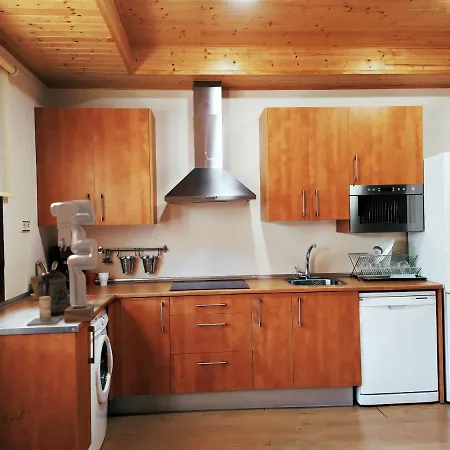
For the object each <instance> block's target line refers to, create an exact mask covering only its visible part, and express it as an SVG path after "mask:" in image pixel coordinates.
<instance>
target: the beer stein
mask: <svg viewBox="0 0 450 450" xmlns="http://www.w3.org/2000/svg"><path fill="white" fill-rule="evenodd" d="M66 281H67V276H66V275H65V274H63V273H62V272H61V271H60V270H59V269H49V270H48V272H47V273H45V274H43V276H42V280H40V281H39V282H38V285H37V293H38V295H39V297H44V296H50V303H51V317H62V316H64V310H66V309H67V308H68V307H69V306H72V305H71V303H70V296H69V293H68V290H67V285H66ZM44 284H45V286H44ZM43 286H44V292H43Z"/></svg>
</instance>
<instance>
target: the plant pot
mask: <svg viewBox="0 0 450 450" xmlns="http://www.w3.org/2000/svg"><path fill="white" fill-rule="evenodd" d="M43 275H44V274H43ZM43 275H42V274H41V275H35V276H34V275H33V276H30V283H31V286H32V287H31V288H32V290H33V293H34V295H35V298H36V299H37V301H39V295H38V293H37V285H38V282H39V281H40V280H42V276H43ZM44 286H45V284H44ZM44 286H43V292H44Z"/></svg>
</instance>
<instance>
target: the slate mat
mask: <svg viewBox="0 0 450 450" xmlns="http://www.w3.org/2000/svg"><path fill="white" fill-rule="evenodd" d="M62 319H63V317H62V316H56V317H51V320H49V321H40V317H35V318H33V319H32V320H30V321H29V322H28V323H27V324H26V326H28V327H29V326H43V325H44V326H47V325H57V324H58V323H59V322H60V321H61V320H62Z"/></svg>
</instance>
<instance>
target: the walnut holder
mask: <svg viewBox="0 0 450 450" xmlns="http://www.w3.org/2000/svg"><path fill="white" fill-rule="evenodd" d="M94 317H95V305H94V304H89V305H82V306H69V307H68V308H67V309H66V310H64V317H63V320H64V323H77V321H81V322H91V321H92V320H93V318H94Z"/></svg>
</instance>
